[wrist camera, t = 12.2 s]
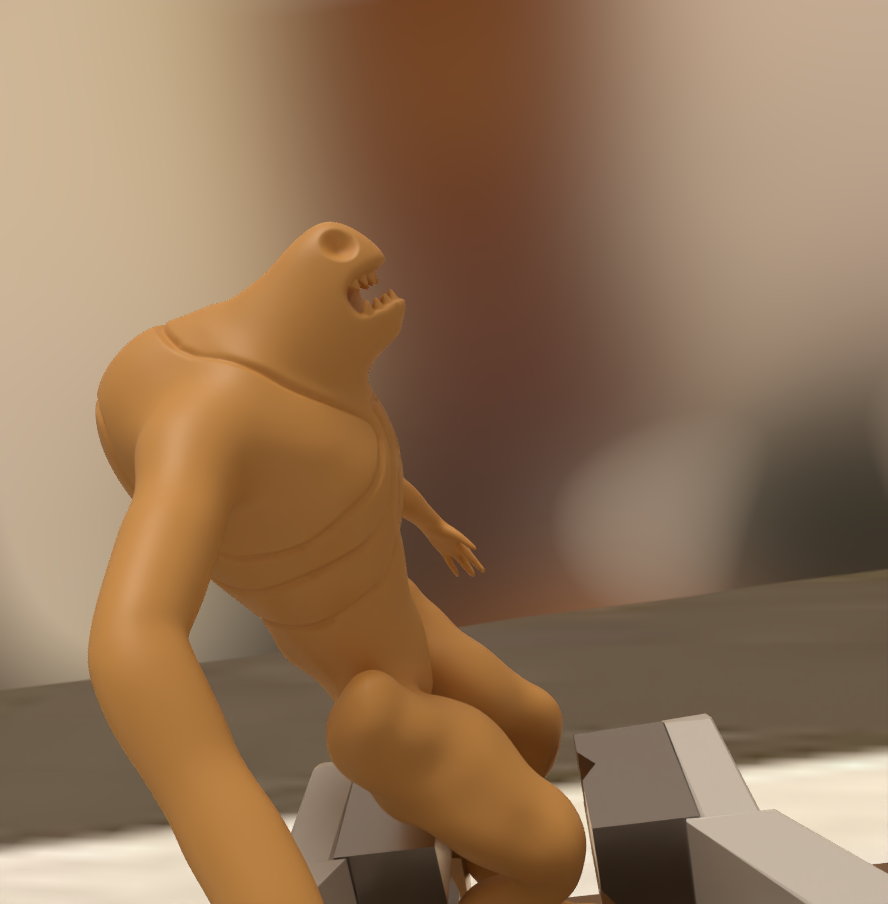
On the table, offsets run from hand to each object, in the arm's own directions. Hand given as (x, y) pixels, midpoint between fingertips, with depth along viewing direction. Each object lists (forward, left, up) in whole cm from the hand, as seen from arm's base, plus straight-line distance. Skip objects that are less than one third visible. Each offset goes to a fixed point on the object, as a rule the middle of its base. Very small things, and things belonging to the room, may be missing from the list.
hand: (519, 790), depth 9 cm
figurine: (-1, -1, -6) cm, 6 cm away
